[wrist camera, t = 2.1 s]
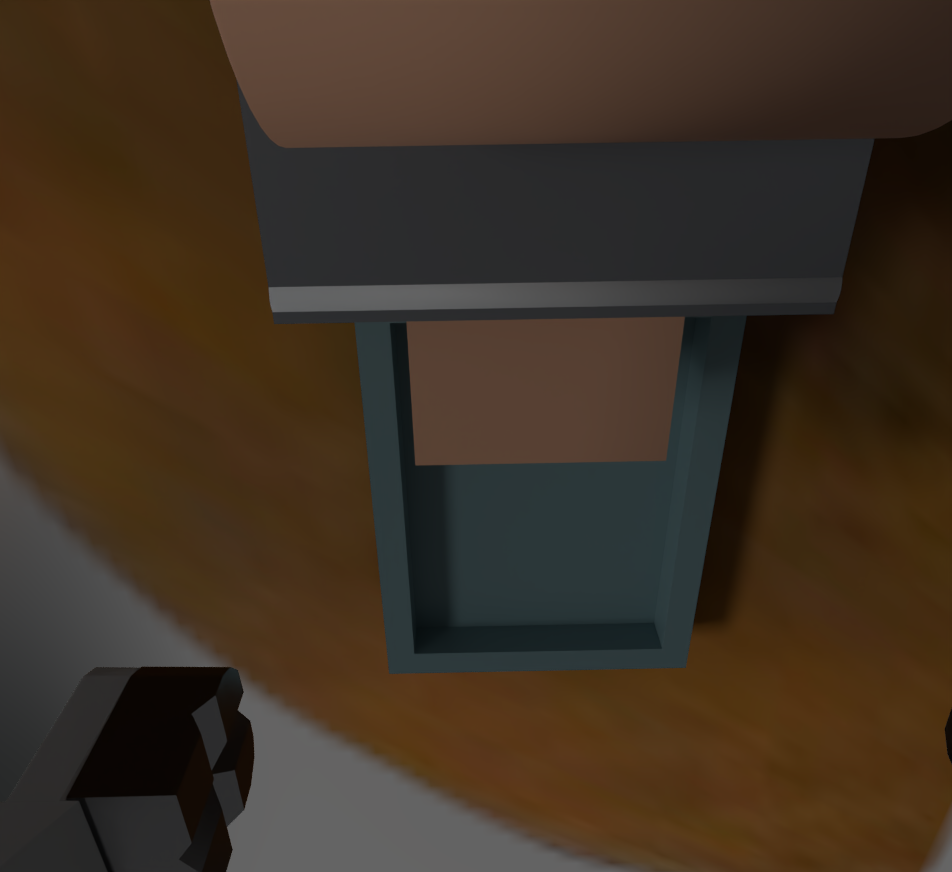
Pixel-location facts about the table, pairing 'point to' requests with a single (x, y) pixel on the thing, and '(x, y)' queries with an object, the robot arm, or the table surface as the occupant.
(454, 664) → the tray
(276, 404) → the table surface
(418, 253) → the dispenser
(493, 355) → the ticket
